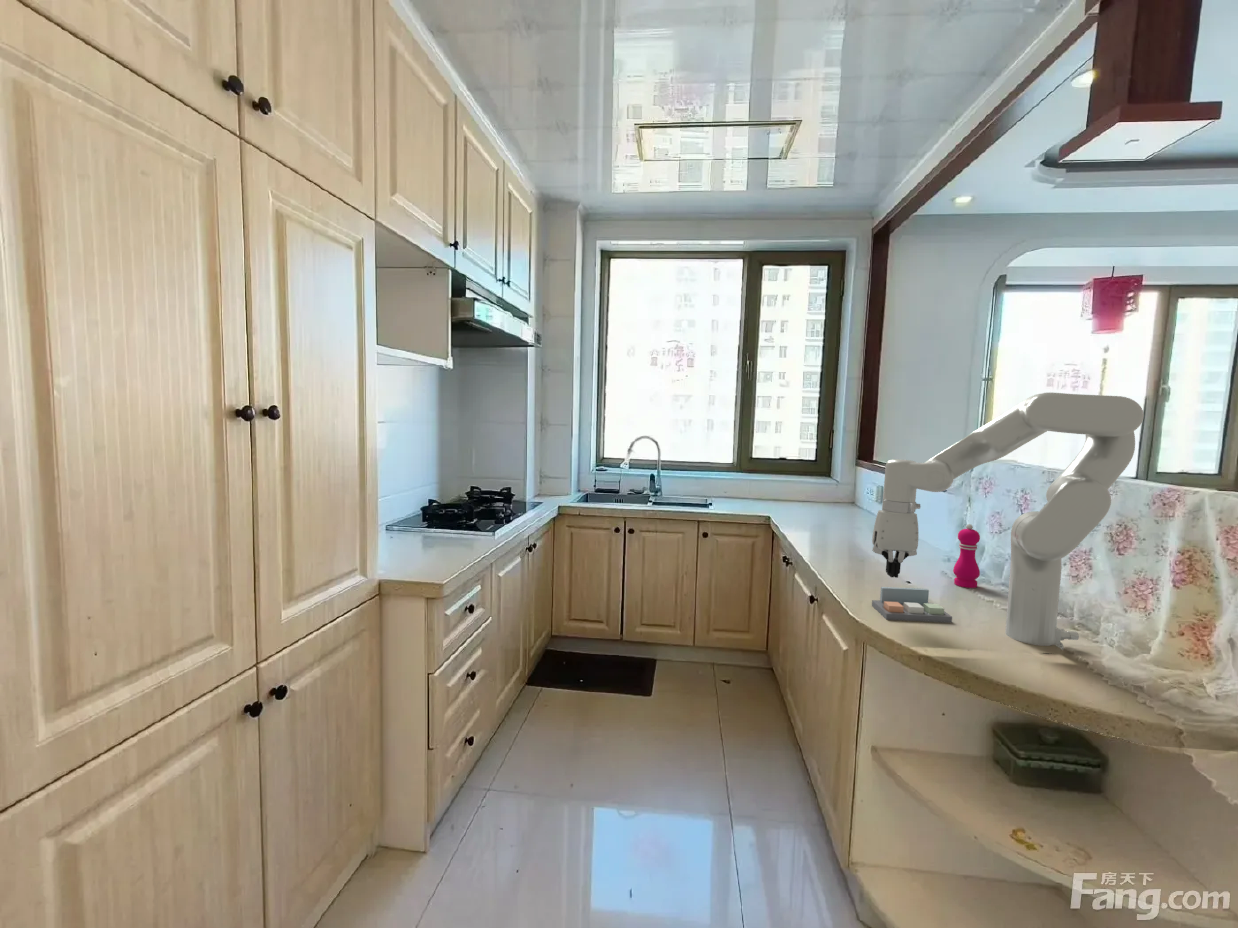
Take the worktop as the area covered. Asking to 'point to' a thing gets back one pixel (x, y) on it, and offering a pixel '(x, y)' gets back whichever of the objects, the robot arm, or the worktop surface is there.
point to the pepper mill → (967, 558)
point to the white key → (913, 607)
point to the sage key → (933, 608)
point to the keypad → (912, 597)
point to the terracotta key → (893, 607)
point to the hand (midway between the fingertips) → (892, 575)
